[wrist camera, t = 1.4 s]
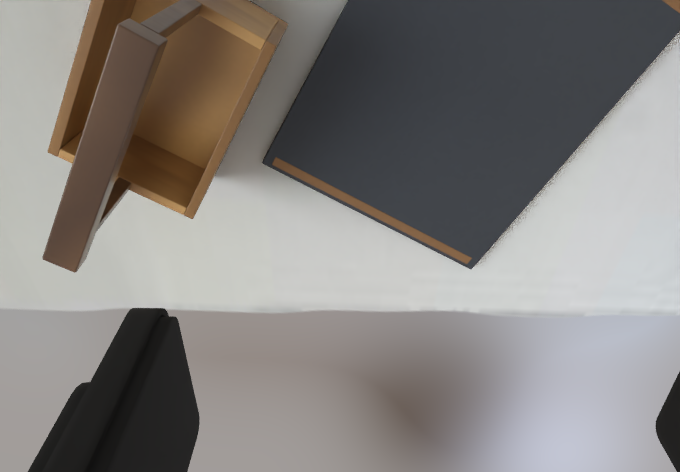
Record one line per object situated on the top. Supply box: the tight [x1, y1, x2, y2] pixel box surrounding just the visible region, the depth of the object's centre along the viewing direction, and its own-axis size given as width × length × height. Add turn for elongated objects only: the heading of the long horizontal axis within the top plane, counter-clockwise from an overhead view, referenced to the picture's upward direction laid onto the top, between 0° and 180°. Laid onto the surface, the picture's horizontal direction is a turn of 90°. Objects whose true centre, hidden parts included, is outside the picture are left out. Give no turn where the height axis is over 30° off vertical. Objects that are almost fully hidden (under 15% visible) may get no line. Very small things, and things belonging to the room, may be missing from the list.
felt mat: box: [262, 0, 680, 269], centre depth 34 cm, size 18×22×1 cm
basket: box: [43, 0, 288, 272], centre depth 28 cm, size 9×12×14 cm
